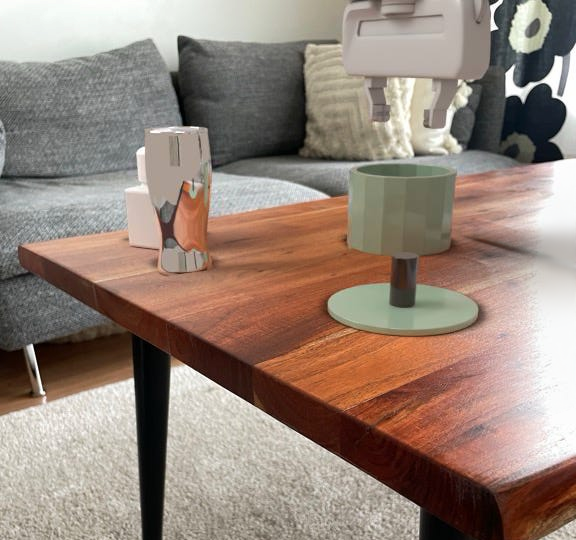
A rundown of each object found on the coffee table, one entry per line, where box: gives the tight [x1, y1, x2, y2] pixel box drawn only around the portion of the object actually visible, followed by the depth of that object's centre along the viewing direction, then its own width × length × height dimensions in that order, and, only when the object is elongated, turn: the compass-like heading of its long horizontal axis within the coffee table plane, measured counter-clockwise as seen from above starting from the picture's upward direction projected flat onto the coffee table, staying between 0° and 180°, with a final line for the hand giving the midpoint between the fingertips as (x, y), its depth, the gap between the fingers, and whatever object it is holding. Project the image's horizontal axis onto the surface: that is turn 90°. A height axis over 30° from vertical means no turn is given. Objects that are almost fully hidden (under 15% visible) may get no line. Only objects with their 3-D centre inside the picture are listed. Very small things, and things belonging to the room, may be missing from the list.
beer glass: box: [143, 125, 213, 277], centre depth 78 cm, size 7×7×15 cm
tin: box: [346, 162, 458, 257], centre depth 88 cm, size 13×13×10 cm
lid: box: [327, 252, 479, 337], centre depth 65 cm, size 14×14×6 cm
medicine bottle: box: [123, 145, 159, 250], centre depth 90 cm, size 7×7×12 cm
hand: (405, 124), depth 77 cm, fingers open, 8 cm apart
